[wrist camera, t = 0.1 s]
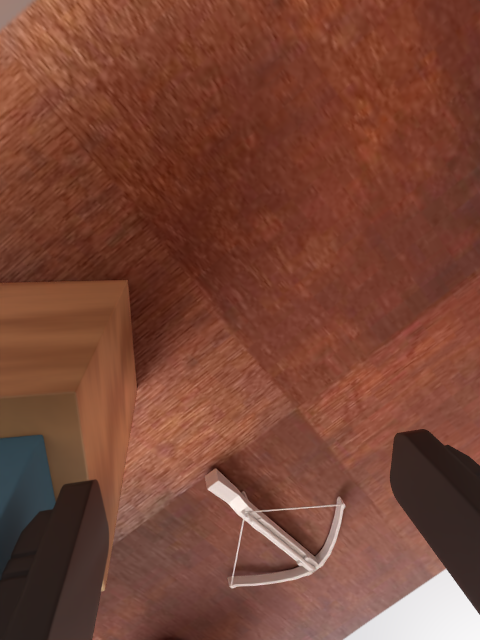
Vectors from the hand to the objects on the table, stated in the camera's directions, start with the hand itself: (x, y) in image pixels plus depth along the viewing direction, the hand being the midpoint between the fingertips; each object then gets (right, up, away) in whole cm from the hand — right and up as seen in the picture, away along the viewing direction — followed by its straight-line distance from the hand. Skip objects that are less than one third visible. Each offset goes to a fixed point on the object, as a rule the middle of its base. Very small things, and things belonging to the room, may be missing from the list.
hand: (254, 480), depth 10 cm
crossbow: (+2, -13, +23) cm, 26 cm away
